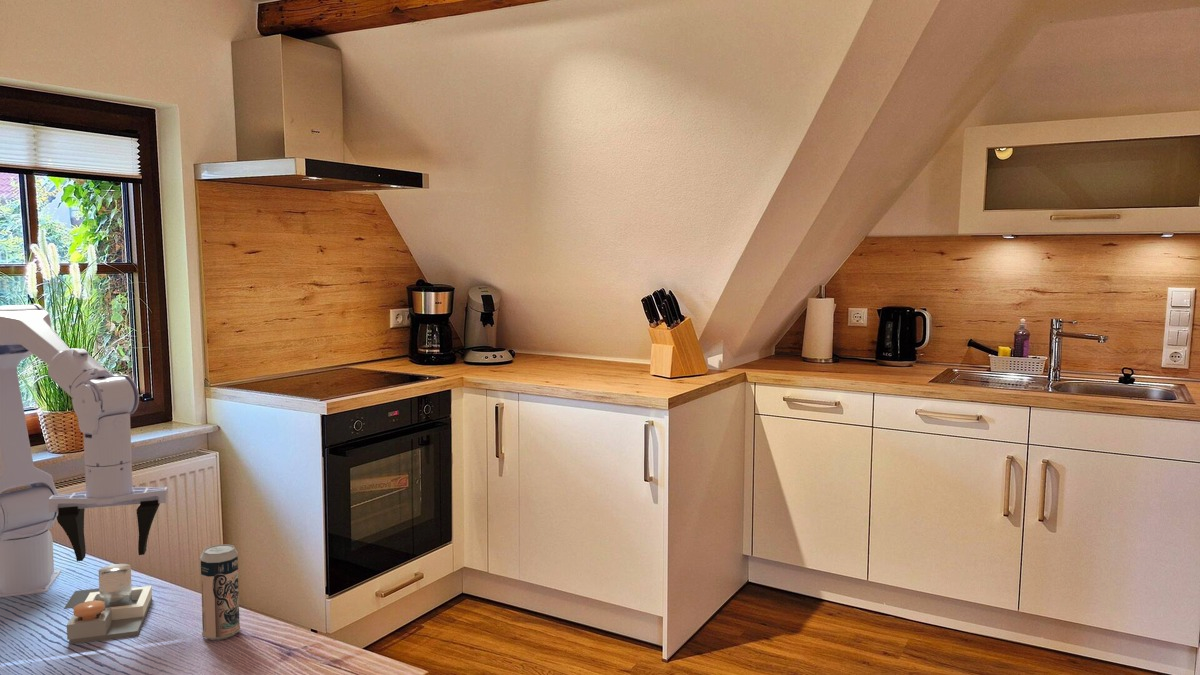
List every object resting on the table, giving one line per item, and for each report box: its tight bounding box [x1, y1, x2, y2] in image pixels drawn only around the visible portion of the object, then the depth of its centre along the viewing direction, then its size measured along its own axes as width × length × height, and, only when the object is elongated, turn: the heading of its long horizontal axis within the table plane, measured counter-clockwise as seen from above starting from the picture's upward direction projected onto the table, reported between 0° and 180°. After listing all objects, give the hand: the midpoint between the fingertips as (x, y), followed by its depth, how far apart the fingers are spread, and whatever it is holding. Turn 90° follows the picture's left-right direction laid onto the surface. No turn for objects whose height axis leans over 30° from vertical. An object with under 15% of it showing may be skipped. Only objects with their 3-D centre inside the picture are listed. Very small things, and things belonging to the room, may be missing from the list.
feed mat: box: [63, 587, 99, 610], centre depth 126 cm, size 7×7×1 cm
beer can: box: [199, 544, 241, 641], centre depth 114 cm, size 5×5×12 cm
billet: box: [98, 563, 133, 608], centre depth 120 cm, size 4×4×6 cm
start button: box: [72, 600, 105, 620], centre depth 113 cm, size 4×4×3 cm
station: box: [66, 585, 153, 645], centre depth 118 cm, size 13×8×3 cm, turn 21°
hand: (112, 555), depth 119 cm, fingers open, 7 cm apart
